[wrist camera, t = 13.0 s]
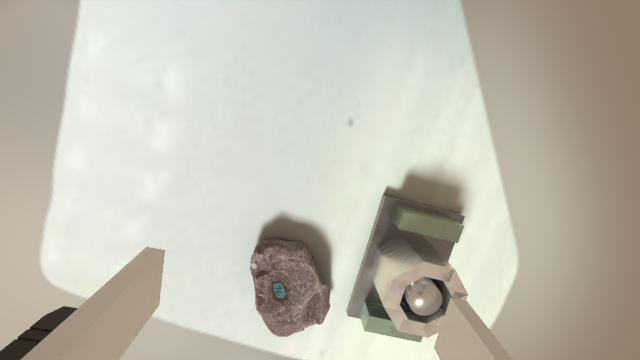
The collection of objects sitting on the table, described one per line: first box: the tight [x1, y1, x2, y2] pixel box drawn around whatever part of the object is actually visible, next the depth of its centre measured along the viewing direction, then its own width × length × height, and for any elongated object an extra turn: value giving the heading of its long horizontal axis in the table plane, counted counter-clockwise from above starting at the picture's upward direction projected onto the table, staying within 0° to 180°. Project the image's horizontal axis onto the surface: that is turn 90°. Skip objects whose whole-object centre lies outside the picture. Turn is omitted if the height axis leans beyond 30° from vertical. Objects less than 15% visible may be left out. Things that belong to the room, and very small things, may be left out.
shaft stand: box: [347, 194, 465, 342], centre depth 36 cm, size 16×10×8 cm, turn 165°
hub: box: [370, 235, 468, 337], centre depth 36 cm, size 8×8×7 cm
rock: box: [250, 239, 330, 337], centre depth 38 cm, size 8×11×5 cm
